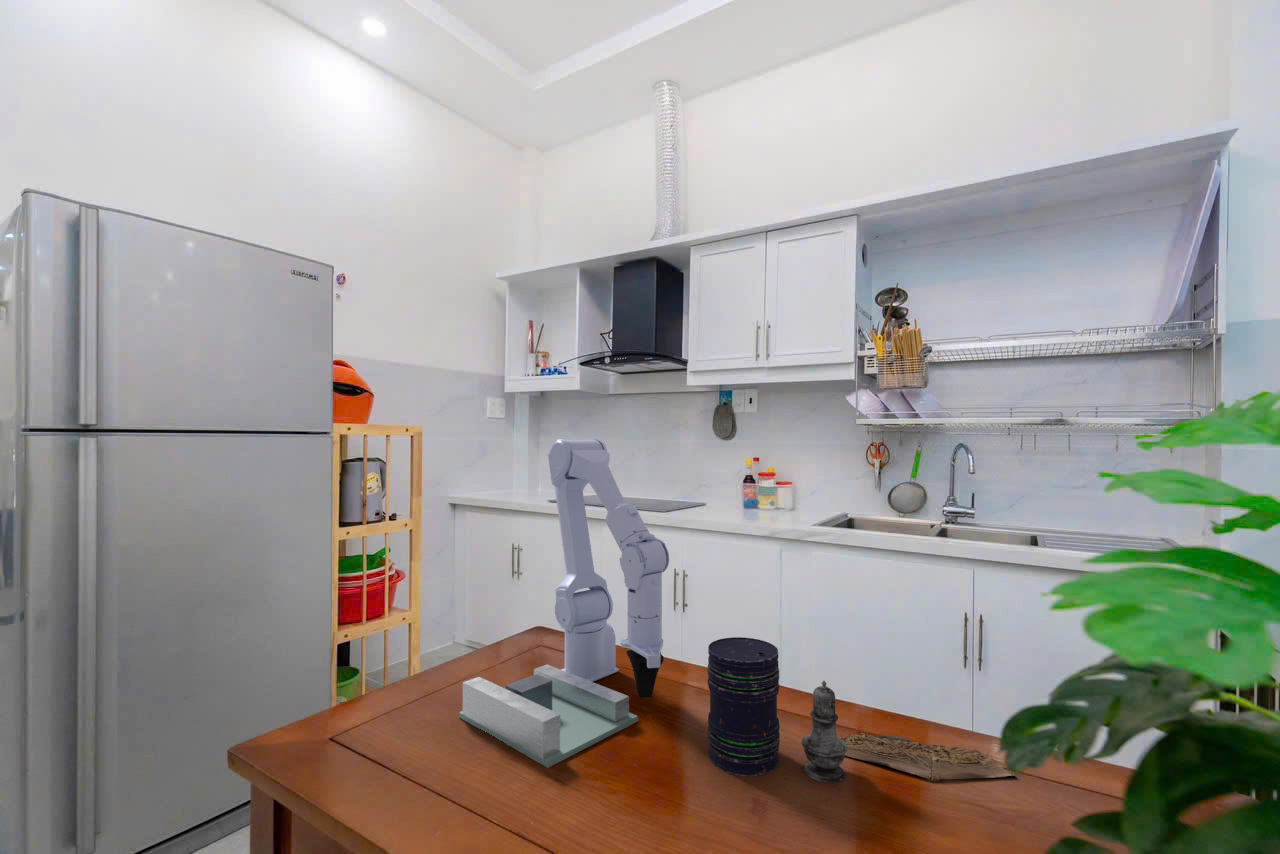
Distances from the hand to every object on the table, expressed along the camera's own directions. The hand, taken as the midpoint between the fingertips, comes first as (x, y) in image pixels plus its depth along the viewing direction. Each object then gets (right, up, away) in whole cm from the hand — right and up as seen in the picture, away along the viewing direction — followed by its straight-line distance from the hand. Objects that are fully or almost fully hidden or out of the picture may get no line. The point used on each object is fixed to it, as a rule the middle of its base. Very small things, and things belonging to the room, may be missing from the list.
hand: (644, 696), depth 100 cm
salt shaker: (+24, -1, -20) cm, 31 cm away
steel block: (-18, -1, -5) cm, 19 cm away
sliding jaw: (-11, -1, 0) cm, 11 cm away
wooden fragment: (+36, -2, -17) cm, 40 cm away
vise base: (-15, -1, -5) cm, 16 cm away
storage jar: (+14, -1, -16) cm, 21 cm away
